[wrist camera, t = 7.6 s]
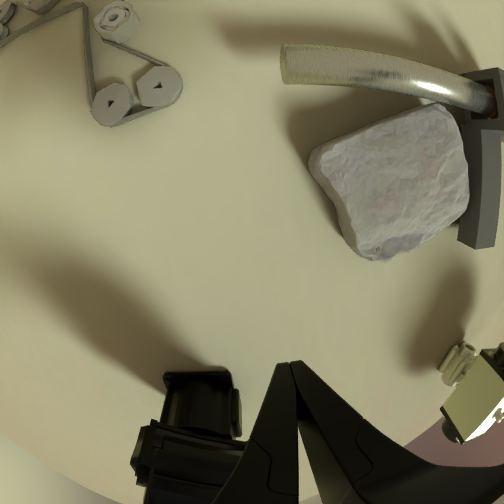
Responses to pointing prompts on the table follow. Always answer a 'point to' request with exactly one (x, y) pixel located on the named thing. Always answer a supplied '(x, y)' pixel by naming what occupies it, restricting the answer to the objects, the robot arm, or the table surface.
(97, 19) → the pulley system
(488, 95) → the linear shaft assembly
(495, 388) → the pneumatic valve
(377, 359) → the table surface
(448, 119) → the stone block
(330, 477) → the robot arm
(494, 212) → the collar
